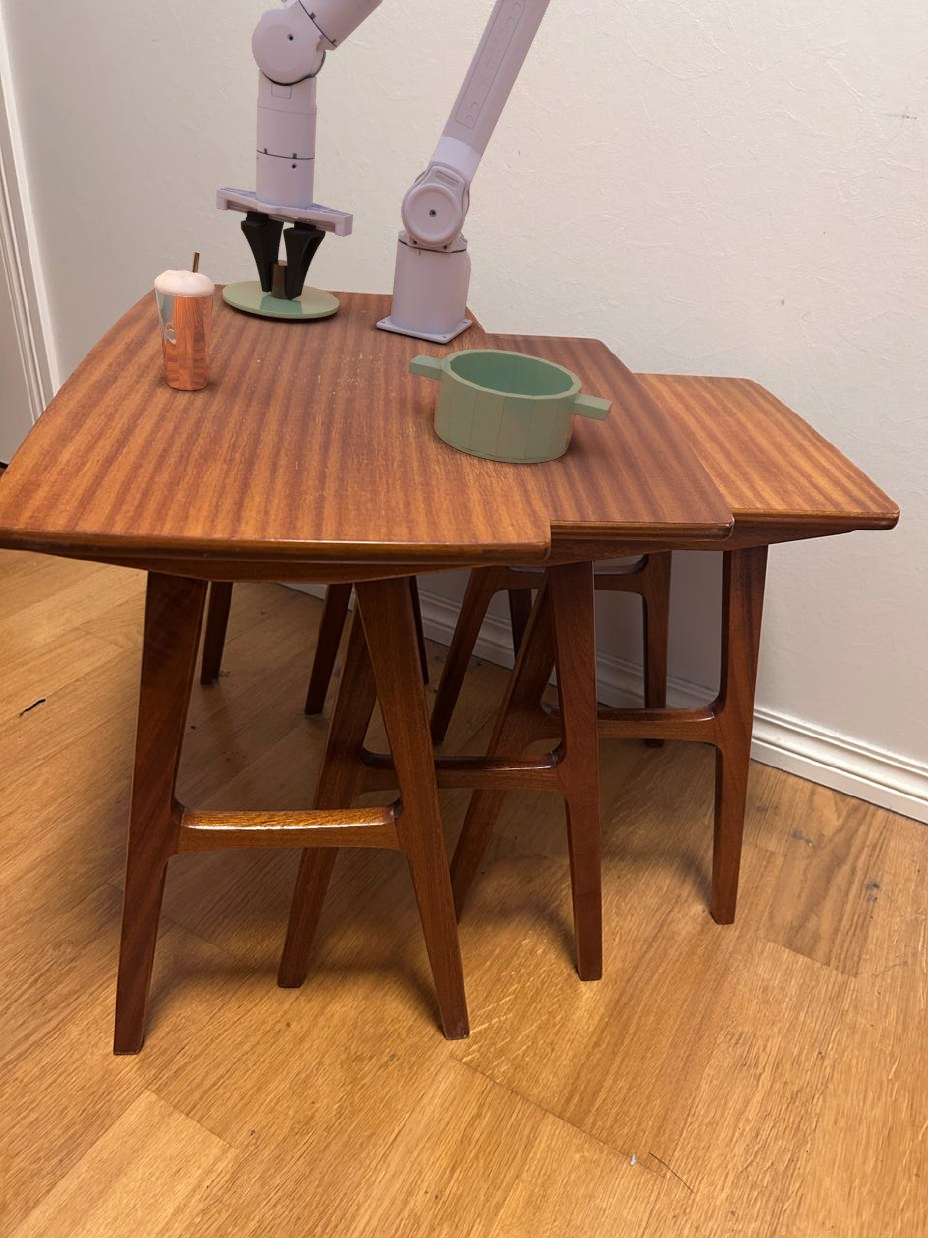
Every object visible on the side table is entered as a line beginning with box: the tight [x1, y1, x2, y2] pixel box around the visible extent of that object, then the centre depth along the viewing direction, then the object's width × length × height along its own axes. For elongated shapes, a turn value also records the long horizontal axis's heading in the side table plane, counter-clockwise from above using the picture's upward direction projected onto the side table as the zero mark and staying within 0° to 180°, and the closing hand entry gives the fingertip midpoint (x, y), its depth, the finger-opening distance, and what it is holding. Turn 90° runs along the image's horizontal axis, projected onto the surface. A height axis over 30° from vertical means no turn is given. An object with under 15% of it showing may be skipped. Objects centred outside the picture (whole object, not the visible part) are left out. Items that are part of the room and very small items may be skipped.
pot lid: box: [221, 259, 340, 320], centre depth 98 cm, size 12×12×5 cm
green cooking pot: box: [407, 348, 613, 464], centre depth 76 cm, size 11×17×5 cm
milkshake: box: [153, 251, 216, 391], centre depth 75 cm, size 4×5×10 cm
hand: (281, 293), depth 99 cm, fingers closed on pot lid, 2 cm apart
